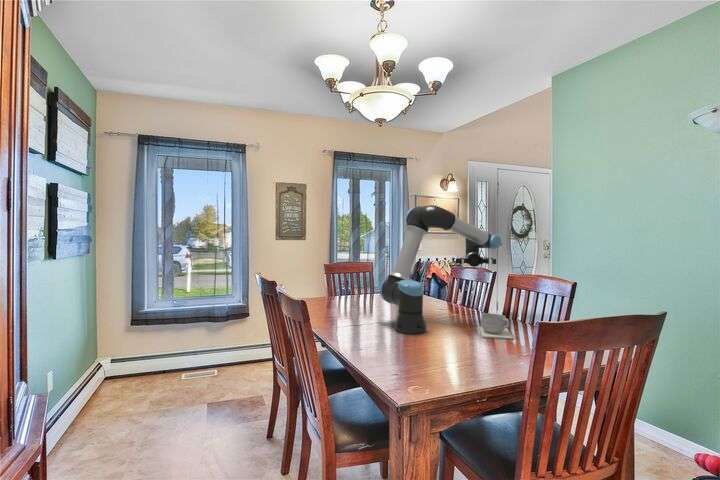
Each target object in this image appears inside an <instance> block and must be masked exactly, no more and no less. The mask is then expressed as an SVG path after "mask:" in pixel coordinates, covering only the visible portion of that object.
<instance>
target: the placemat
mask: <svg viewBox="0 0 720 480" xmlns="http://www.w3.org/2000/svg"><path fill="white" fill-rule="evenodd" d="M478 329H479V332H480V333H479V334H480V336H481V337H482V339H492V338H496V339H495V340H511V341H514V340H515V338H514V337H513V335H512V334H511V332H510V331H509V329H508V327H507V328H505V329H504V330H503V331H502V332H501V333H490V332H486V331H485V330H484V329H483V328H482V325H481V326H480V325H479V326H478Z"/></svg>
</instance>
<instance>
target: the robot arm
mask: <svg viewBox="0 0 720 480" xmlns="http://www.w3.org/2000/svg"><path fill="white" fill-rule="evenodd" d="M405 223H406V226H405V228H406V230H407V232H406V235H405V238H404V241H403V243H402V246H401V247H400V251H399V254H398V257H397V259H396V262H395V265H394V268H393V270H392V272H391V273H389V274H388V276H387V279H384V281H382V282H381V284H380V286H379V295H380V298H382V300H383V301H384V302H387V303H388V304H390V305H391V304H393V305H396V306H397V307H398V308H397V310H398V312H397V313H398V315H397V317H396V320H395V322H394V323H395V324H394V331H396V332H397V333H401V334H404V335H405V334H408V335H417V334H418V335H419V334H423V333H426V332H427V324H426V321H425V317H424V311H423V309H424V308H423V307H424V289H423V284H422V283H421V282H419V281H416V280H411V279H409V278H410V274H411V271H412V268H413V266H414V263H415V261H416V258H417V257H416V256H417V255H418V251H419V249H420V246H421V243H422V240H423V237H424V236H426V235H428V232H429V229H431V228H432V229H442V230H443V231H450V232H452V233H455V234H457V235H458V236H460V237H463V238H465V256H464V257H460V258H459V257H457V258H455V264H456V265H457V264H458V265H459V266H464V265H465V264H468V265H469V266H471V267H474V268H476V267H479V266H480V265H483V264H485V265H486V264H487V265H489V266H493V265H497V259H496V258H494V257H490V258H489V257H485V258H484V257H481V255H480V249H491V250H493V249H499V248H500V246H501V244H502V239H501V237H500V236H499V235H498V234H490V233H488V232H486V231H484V230H482V229H480V228H478V227H476V226H475V225H472V224H471V223H469V222H467V221H464V220H462V219H461V218H458V217H457V216H456V214H455V213H454V212H451V211H449V210H447V209H445V208H443V207H441V206H438V205H436V204H435V205H433V204H429V205H422V206H421V205H419V206H414V207H412V208H410V209H409V210H408V211H407V213H406V214H405Z"/></svg>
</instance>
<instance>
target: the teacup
mask: <svg viewBox="0 0 720 480" xmlns="http://www.w3.org/2000/svg"><path fill="white" fill-rule="evenodd" d="M480 324H481V326H482V328H483V329H484V330H485V331H486V332H490V333H501V332H502V331H503V330H504V329H505V328H507V329H508V328H509V326H510V325H511V324H510V320H509V319H508V318H507V316H505V315H503V314H499V313H490V312H489V313H487V312H485V313H481V322H480Z"/></svg>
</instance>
